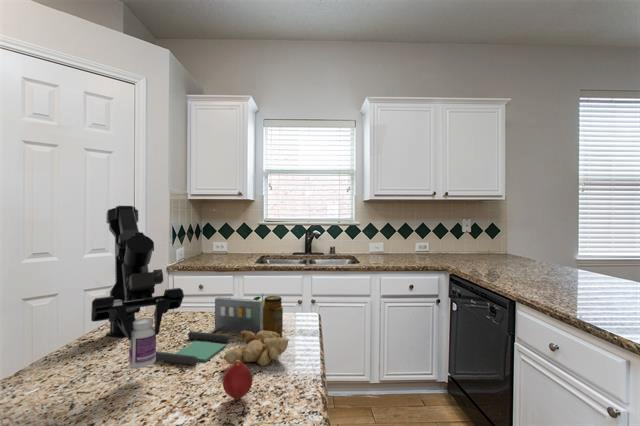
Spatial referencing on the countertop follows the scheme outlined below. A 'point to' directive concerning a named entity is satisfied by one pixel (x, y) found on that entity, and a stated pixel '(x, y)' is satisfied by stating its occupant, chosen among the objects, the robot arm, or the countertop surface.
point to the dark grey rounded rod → (176, 358)
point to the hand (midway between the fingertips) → (144, 336)
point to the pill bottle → (142, 343)
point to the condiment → (273, 315)
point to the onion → (237, 380)
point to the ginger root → (258, 348)
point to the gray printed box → (238, 315)
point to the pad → (202, 350)
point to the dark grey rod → (208, 336)
